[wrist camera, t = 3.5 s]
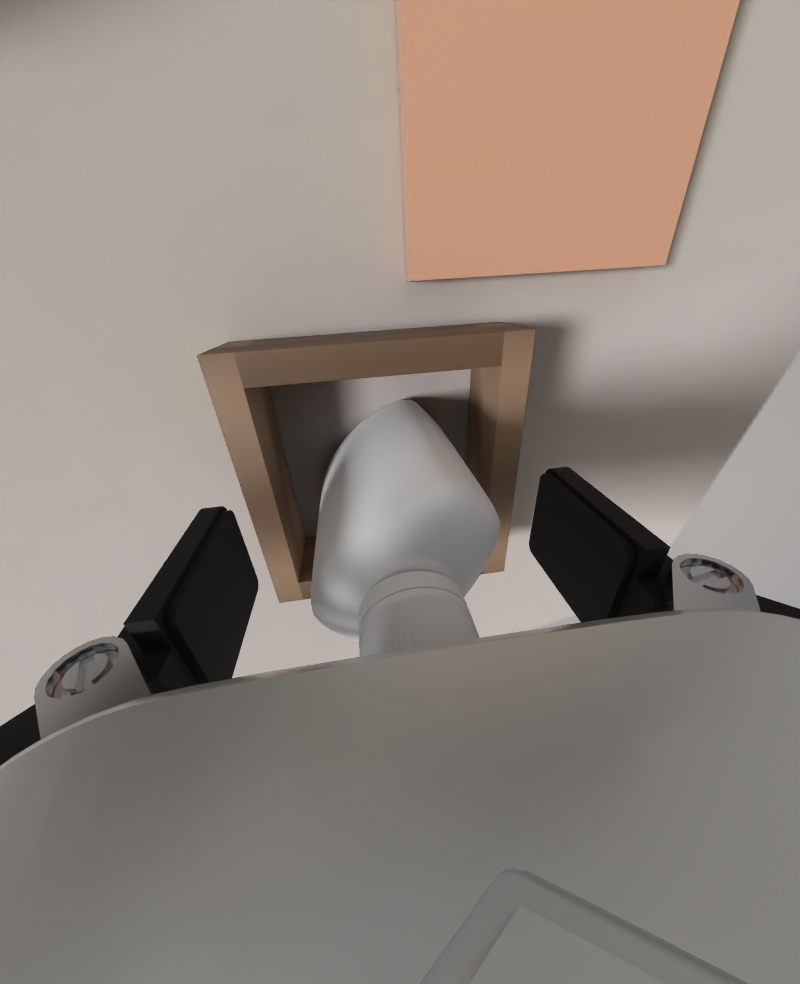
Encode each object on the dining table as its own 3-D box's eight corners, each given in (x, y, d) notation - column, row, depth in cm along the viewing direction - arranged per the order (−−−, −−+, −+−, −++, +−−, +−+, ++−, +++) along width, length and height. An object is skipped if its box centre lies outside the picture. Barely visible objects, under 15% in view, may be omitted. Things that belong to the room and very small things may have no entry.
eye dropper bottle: (449, 477, 16) (626, 793, 6) (337, 512, 16) (323, 880, 6) (429, 388, 14) (655, 648, 4) (298, 429, 14) (177, 790, 4)
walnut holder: (227, 342, 12) (196, 355, 10) (498, 321, 13) (535, 329, 11) (289, 556, 17) (279, 602, 15) (481, 531, 18) (503, 571, 16)
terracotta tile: (388, -203, 8) (393, -265, 7) (757, -178, 8) (805, -231, 7) (406, 281, 12) (411, 280, 11) (644, 267, 13) (665, 265, 12)
